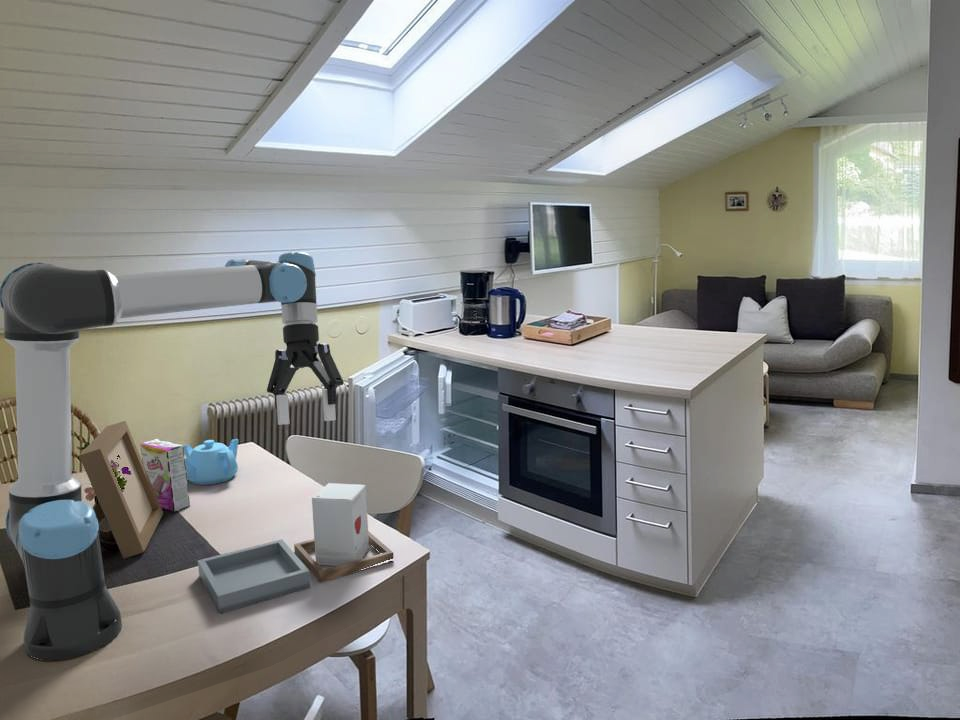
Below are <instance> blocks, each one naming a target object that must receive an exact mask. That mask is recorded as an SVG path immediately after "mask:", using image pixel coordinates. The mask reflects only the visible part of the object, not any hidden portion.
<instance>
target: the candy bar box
mask: <svg viewBox="0 0 960 720" xmlns="http://www.w3.org/2000/svg"><path fill="white" fill-rule="evenodd" d="M139 444H140V453H141V460H142V462H143V465H144V467H145V470H146V472H147V474H148V477H149V479H150V482H151V484H152V487H153V489H154V491H155V494H156V496H157V499H158V501H159V504H160V506H161V508H162V509H163V508H164V510H166V509H168V510H167V511H169V510H171V511H170V512H173V511H174V512H173V513H176V512H175V511H177V512H179V511H181V509H182V510H183V509H186V508H189V507H190V506H191V504H190V503H191V502H190V494H189V487H188V479H187V475H186V467H185V458H186V457H185V453H184V449H183V444H178V443H175V442H170V441H167V440H164V439H163V440H162V439H159V438H155V439H151V440H148V441H144V442H141V443H139ZM178 510H179V511H178Z"/></svg>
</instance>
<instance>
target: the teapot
mask: <svg viewBox="0 0 960 720" xmlns="http://www.w3.org/2000/svg"><path fill="white" fill-rule="evenodd" d="M182 445H183V444H182ZM238 447H239V439H238V438H235V439H231V441H230V443H229V445H228V446H227V445H225V443H222V442H215V440H214V439H207V440H203V444H199V445H197V446H195V447H194V448H192V446H190V444H184V445H183V449H184V456H185V457H184V458H185V467H186V475H187V481H189V482H190V483H192V484H194V483H195V484H194V485H197V484H201V485H200V486H206V485H207V486H209V485H208V484H212V485H217V484H216V483H218V484H221V483H220V482H222V483H224V481H225V482H227V481H230V480H231V479H233V477H235V475H236V474H237V473H238V469H239V466H238V461H237V455H238Z"/></svg>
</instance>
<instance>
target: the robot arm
mask: <svg viewBox="0 0 960 720" xmlns="http://www.w3.org/2000/svg"><path fill="white" fill-rule="evenodd" d="M315 268H316V267H315V263H314V259H313V256H312V255H311V254H309V253H306V252H298V251H297V252H293V251H292V252H291V251H290V252H285V253H282V254H280V256H278V261H266V260H254V259H244V258H241V259H237V258H235V259H229V260H228V261H226V263H225V265H224V266H220V267H219V266H217V267H206V268H193V269H189V268H188V269H175V270H165V271H164V270H163V271H162V270H161V271H150V272H136V273H135V272H134V273H123V274H112V273H111V272H109V271H108V270H106V269H90V270H87V269H86V270H84V269H72V268H68V267H67V268H66V267H61V266H56V265H54V264H50V263H43V262H41V261H40V262H29V263H26V264H23V265H19V266H17V267H15V268H14V269H13V270H10V272H9V273H8V274H7V275H5V277H4V279H3V280H2V282H1V285H0V306H1V308H2V310H3V330H4V341H5V342H7V343H8V344H9V345H11V347H13V348H14V357H15V359H14V361H15V363H14V365H15V398H16V399H15V400H16V401H15V402H16V406H15V407H16V433H17V434H16V436H17V437H16V438H17V444H16V445H17V474H18V478H17V480H16V481H15V482H13V483H12V484H11V485H10V486H9V488H8V500H9V501H8V503H9V504H8V505H9V506H8V509H7V512H6V517H5V530H6V532H7V536H8V538H9V539H10V541H11V542H12V544H13V545H14V547H15V549H16V551H17V553H18V555H19V556H20V559H21V560H22V562H23V563H22V564H23V566H24V567H23V568H24V573H25V578H26V579H25V580H26V586H27V591H28V592H27V593H28V597H29V604H30V606H29V610H28V611H29V612H28V616H27V620H26V624H25V628H24V634H23V643H24V651H25V650H26V651H25V653H26V652H27V653H28V654H29V655H30V656H32V657H35V658H38V659H42V660H41V661H43V660H56V661H63V660H69V659H74V658H78V657H80V656H84V655H87V654H89V653H91V652H93V651H96V650H99V649H100V648H103V646H105V645H107V644H108V643H110V642H111V641H113V640H114V639H115V638H116V637H117V636H118V635H119V633H120V632H121V630H122V628H123V627H122V626H123V624H122V622H123V621H122V615H121V611H120V609H119V607H118V605H117V604H116V602H115V600H114V599H113V597H112V595H111V594H110V592H109V590H108V588H107V586H106V580H105V571H104V565H103V556H102V550H101V549H102V548H101V541H100V536H99V535H100V533H98V531H99V524H98V520H97V518H96V515H95V512H94V510H93V506H92V505H90V504H88V503H86V502H85V501H82V497H83V496H82V481H81V480H80V479H79V478H77V477H76V476H74V474H73V466H72V465H73V464H72V462H73V458H72V457H73V455H72V399H71V391H72V390H71V347H72V346H73V345H75V344H76V343H77V342H78V341H79V340H80V331H83V330H88V329H94V328H100V327H101V328H102V327H109V326H114V325H115V324H116V323H117V322H118V321H119V319H128V318H135V317H137V318H138V317H144V316H145V317H146V316H147V317H148V316H154V315H156V316H157V315H163V314H173V313H181V312H182V313H183V312H189V311H190V312H191V311H198V310H199V311H201V310H209V309H218V308H226V307H236V306H244V305H245V306H246V305H253V304H254V305H255V304H267V303H277V302H280V305H281V318H282V319H281V323H282V325H284V326H283V327H282V338H283V343H284V344H285V345H286V349H276V350H275V353H274V362H273V367H272V370H271V372H270V373H271V374H270V377H269V380H268V384H267V388H266V392H267V393H268V394H269V393H270V394H272V395H273V396H274V407H275V410H276V411H277V426H278V425H279V426H280V425H282V426H283V425H290V423H291V422H290V413H289V412H290V411H289V409H290V408H289V394H287V390H288V388H289V386H290V384H291V381H292V379H293V377H294V376H295V374H296V372H297V371H298V370H299V369H304V368H310V370H312V372H313V373H314V375H315V376H316V377H317V378H318V380H319V381H320V383H321V384H322V385H323V389H322V390H321V391H322V393H321V394H322V404H323V405H322V407H323V409H322V410H323V421H324V422H329V421H330V422H331V421H336V420H337V418H336V416H337V415H336V405H337V403H338V401H337V388H339V387H340V386H343V385H344V380H343V377H342V375H341V374H340V371H339V369H338V367H337V365H336V362H335V360H334V358H333V356H332V353H331V347H330V344H329V343H318V342H319V340H320V333H319V332H320V331H319V325H317V322H318V321H319V318H318V307H317V306H318V304H317V287H316V269H315ZM27 653H26V654H27ZM30 656H29V657H30Z"/></svg>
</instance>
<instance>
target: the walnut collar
mask: <svg viewBox="0 0 960 720" xmlns="http://www.w3.org/2000/svg"><path fill="white" fill-rule="evenodd" d="M368 538H369V544H370V545H372V546H373V547H374V548H375V549H377V550H378V551H379V552H380V553H382V554H379V553H377V554H375V555H371V556H367V557H363V558H362V559H360V560H357V561H353V562H349V563H346V564H342V565H339V566H331V567H329V568H326V569H323V568H322V567H321V565H318V564H317V563H316V560H315V559H313V557H312V556H311V555H310V554H309V552H311V551H315V541H314V538H313V539H307V540H305V541H301V542H297V543H294V544H293V546H294V547H293V548H294V554H295V555H296V556H297V557H298V558H299V559H300V561H301V562H302V563H303V564H304V565H305V566H306V567H307V569H308V570H309V572H311V573H312V574H313V576H314V577H315V578H316V579H317V580H318V582H320V583H324V582H327V581H331V580H335V579H338V578H341V577H340V576H342V577H344V575H345V576H348V575H352V574H354V573H353V572H355V573H357V572H356V571H359V570H361V569H364V568H367V567H370V566H373V565H375V564H378V563H381V562H384V561H386V560H390V559H393V558H394V555H395V554H394V551H393V550H391V549H390V548H388V547H387V546H386V545H385V544H384V543H383V542H382V541H381V540H379V538H378V537H376V536H375V535H374V534H372V532H370V531H369V530H368ZM370 545H369V546H370ZM373 547H372V548H373ZM374 548H373V549H374ZM375 549H374V550H375ZM394 559H395V558H394ZM359 572H360V571H359ZM351 573H352V574H351ZM347 574H348V575H347Z"/></svg>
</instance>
